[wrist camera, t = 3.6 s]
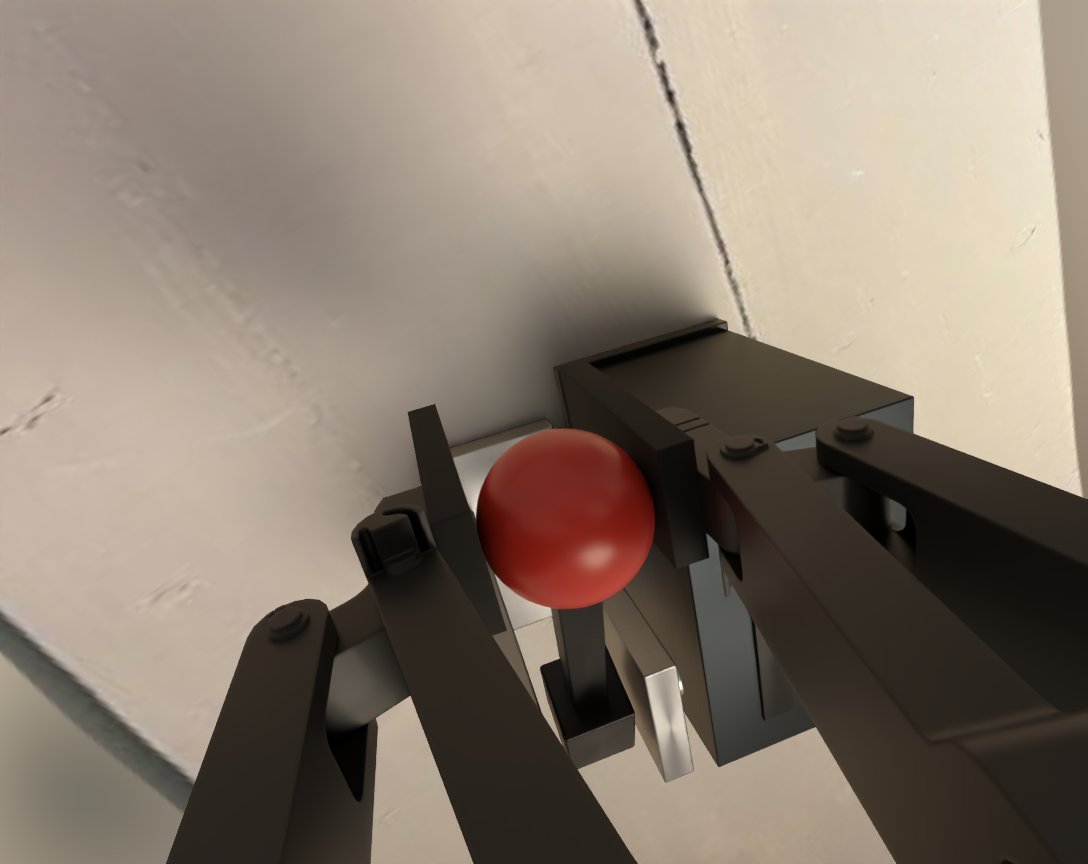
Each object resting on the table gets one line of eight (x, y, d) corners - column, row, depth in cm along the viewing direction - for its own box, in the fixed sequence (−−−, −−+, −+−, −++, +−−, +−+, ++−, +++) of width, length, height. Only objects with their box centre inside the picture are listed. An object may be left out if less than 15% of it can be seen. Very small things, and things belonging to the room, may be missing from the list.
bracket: (421, 455, 28) (462, 657, 16) (546, 417, 29) (679, 579, 17) (477, 627, 32) (546, 899, 20) (586, 589, 33) (718, 824, 21)
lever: (441, 422, 12) (488, 569, 10) (610, 372, 13) (694, 499, 10) (522, 691, 22) (557, 801, 19) (618, 655, 22) (663, 757, 20)
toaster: (552, 366, 28) (668, 470, 17) (718, 318, 30) (924, 386, 19) (601, 588, 33) (716, 779, 22) (742, 538, 35) (916, 695, 24)
